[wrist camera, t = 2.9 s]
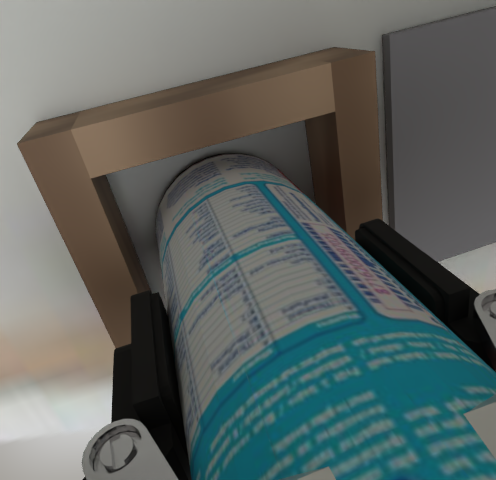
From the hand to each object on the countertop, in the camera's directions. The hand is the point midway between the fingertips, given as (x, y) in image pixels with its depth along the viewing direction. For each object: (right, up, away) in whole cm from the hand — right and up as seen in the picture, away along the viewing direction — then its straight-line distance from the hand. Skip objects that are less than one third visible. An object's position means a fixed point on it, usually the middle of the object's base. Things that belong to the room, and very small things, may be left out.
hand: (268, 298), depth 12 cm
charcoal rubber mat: (+11, +6, +7) cm, 14 cm away
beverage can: (-2, +3, +5) cm, 6 cm away
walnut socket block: (-1, +3, +5) cm, 6 cm away
